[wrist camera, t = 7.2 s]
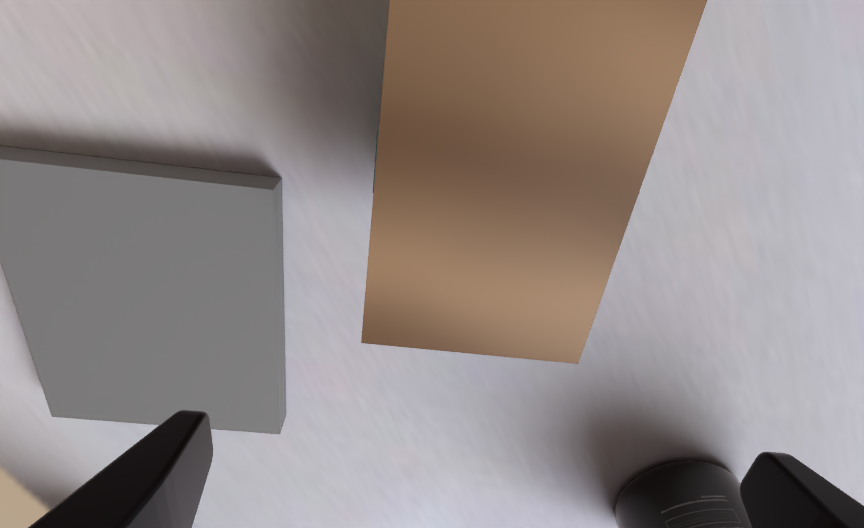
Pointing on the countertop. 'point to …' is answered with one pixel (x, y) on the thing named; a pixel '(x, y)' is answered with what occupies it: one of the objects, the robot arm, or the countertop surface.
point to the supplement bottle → (682, 498)
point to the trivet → (147, 287)
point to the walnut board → (512, 166)
